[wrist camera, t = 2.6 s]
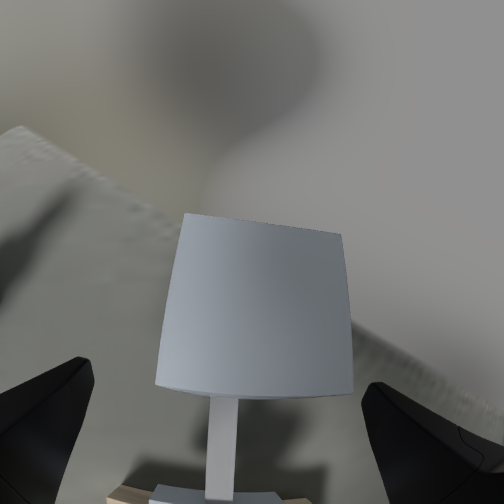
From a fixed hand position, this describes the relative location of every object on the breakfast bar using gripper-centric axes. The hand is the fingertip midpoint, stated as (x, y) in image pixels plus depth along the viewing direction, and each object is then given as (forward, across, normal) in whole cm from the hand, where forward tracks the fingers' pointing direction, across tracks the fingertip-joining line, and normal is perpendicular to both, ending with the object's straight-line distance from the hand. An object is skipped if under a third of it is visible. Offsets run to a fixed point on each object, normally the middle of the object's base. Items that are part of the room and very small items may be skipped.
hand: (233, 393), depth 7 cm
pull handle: (+5, 0, +8) cm, 10 cm away
